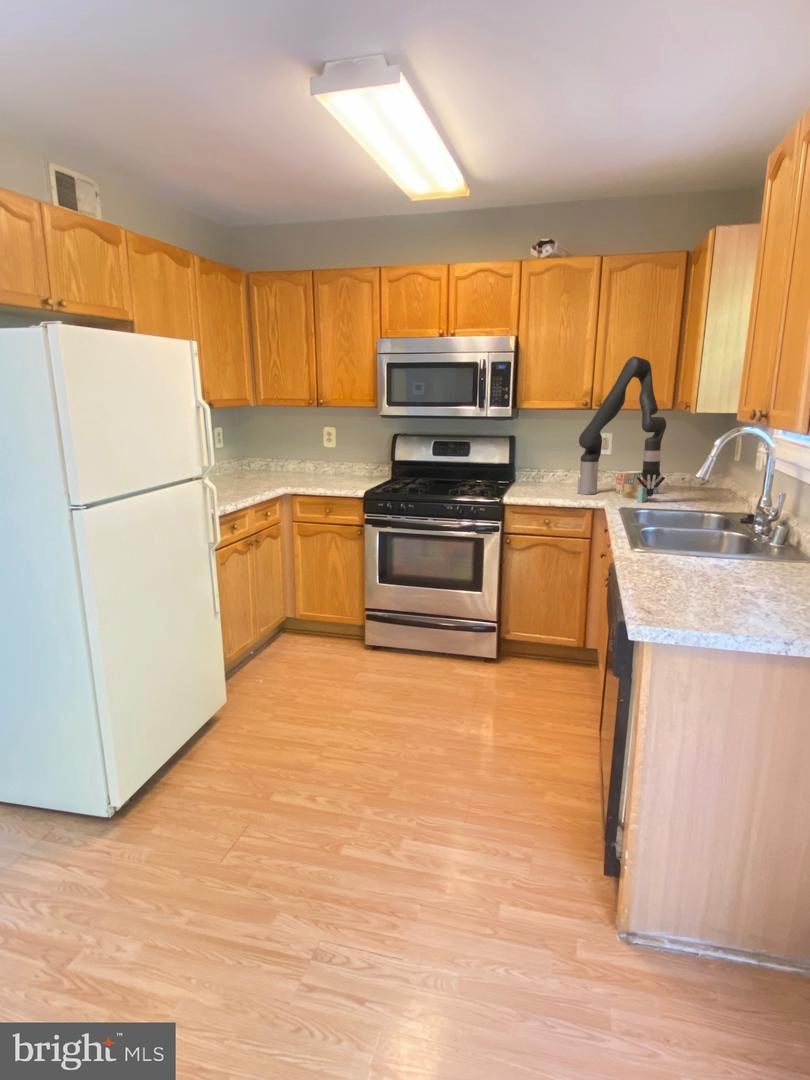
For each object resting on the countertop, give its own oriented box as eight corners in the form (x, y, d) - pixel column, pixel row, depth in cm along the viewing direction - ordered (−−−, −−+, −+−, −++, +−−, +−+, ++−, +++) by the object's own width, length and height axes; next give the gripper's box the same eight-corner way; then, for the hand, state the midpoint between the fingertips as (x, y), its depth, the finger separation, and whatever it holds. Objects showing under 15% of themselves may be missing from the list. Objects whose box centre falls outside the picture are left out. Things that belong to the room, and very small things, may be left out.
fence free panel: (643, 499, 296) (644, 485, 294) (647, 499, 294) (648, 486, 293) (637, 502, 288) (638, 488, 286) (641, 502, 287) (642, 488, 285)
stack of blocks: (650, 493, 322) (652, 470, 319) (657, 494, 316) (659, 471, 313) (615, 494, 317) (616, 471, 314) (622, 496, 311) (624, 472, 308)
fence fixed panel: (622, 499, 301) (624, 482, 299) (623, 498, 303) (625, 482, 301) (646, 501, 295) (648, 484, 293) (648, 500, 296) (649, 483, 294)
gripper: (664, 459, 285) (662, 495, 289) (635, 459, 287) (633, 495, 291) (668, 460, 278) (665, 497, 281) (638, 460, 280) (636, 497, 284)
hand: (649, 496), depth 286 cm, fingers closed
